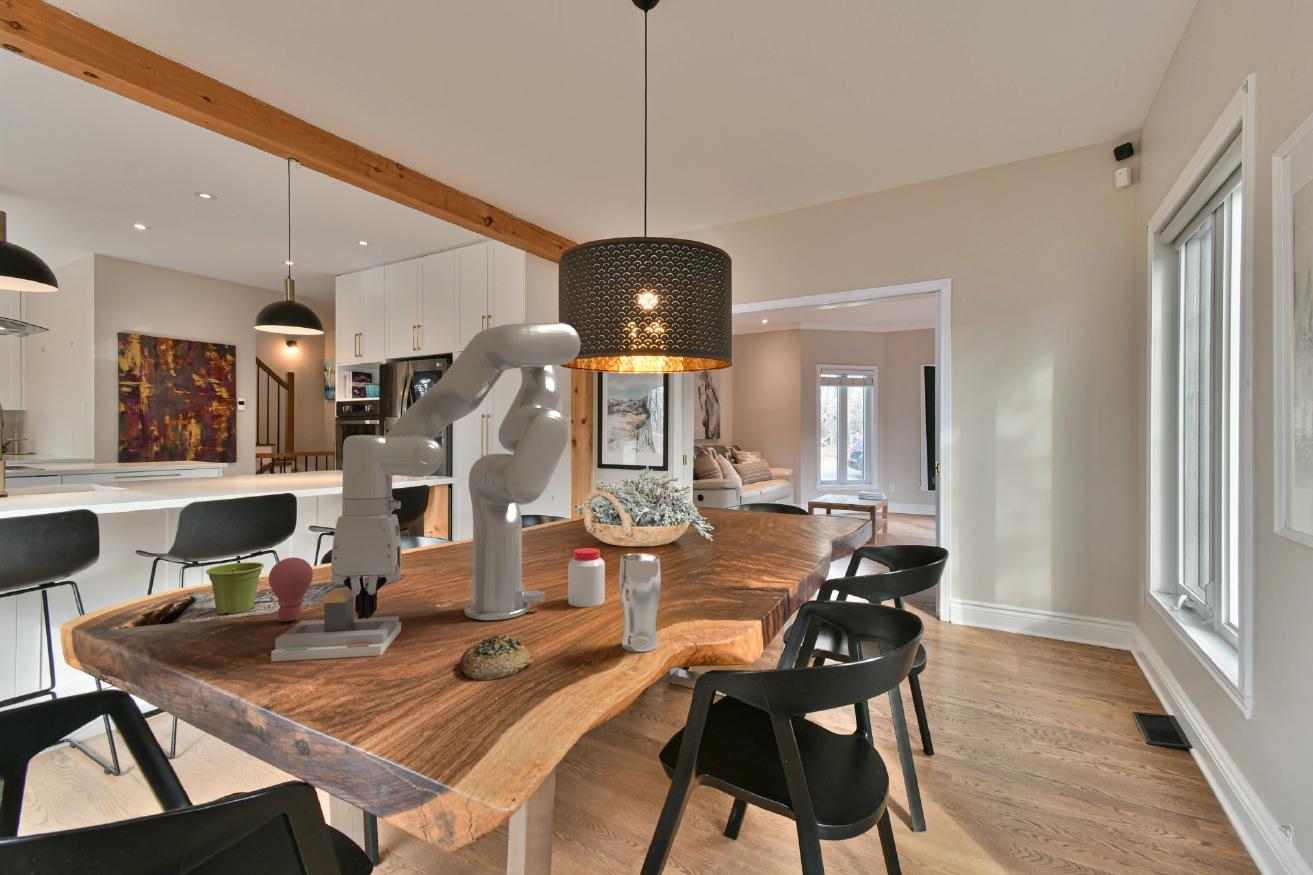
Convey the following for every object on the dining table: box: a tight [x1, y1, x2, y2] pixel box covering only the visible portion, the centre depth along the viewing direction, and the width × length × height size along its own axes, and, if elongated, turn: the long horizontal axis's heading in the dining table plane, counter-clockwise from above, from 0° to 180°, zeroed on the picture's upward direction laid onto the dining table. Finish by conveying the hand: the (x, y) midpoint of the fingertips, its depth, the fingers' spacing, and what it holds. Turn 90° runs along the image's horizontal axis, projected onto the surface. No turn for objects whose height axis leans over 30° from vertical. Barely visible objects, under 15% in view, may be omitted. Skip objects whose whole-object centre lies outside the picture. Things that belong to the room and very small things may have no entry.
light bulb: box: [268, 557, 314, 622], centre depth 109 cm, size 7×7×12 cm
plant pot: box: [205, 561, 265, 615], centre depth 116 cm, size 9×9×9 cm
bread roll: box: [459, 634, 534, 681], centre depth 89 cm, size 11×11×5 cm
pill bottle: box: [567, 547, 606, 608], centre depth 123 cm, size 8×8×11 cm
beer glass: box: [619, 552, 662, 653], centre depth 97 cm, size 7×7×15 cm
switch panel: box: [270, 615, 402, 662], centre depth 97 cm, size 16×12×3 cm
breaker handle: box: [323, 587, 355, 632], centre depth 97 cm, size 3×5×7 cm
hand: (366, 616), depth 97 cm, fingers closed
